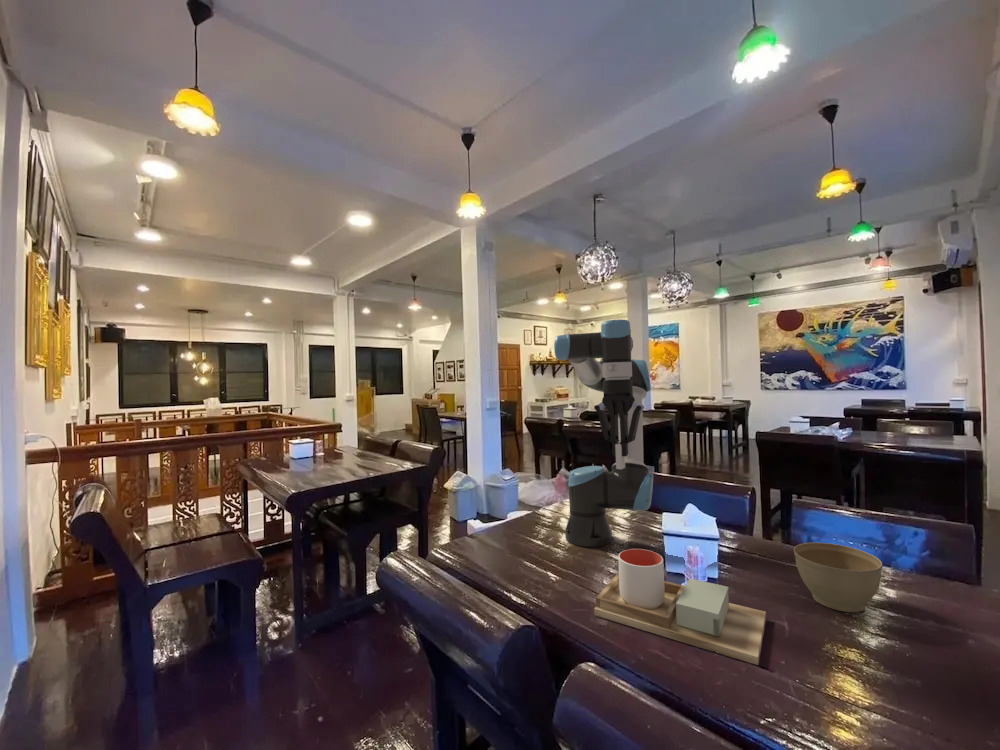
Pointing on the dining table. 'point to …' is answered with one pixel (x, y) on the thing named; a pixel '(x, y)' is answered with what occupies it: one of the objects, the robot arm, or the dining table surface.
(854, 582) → the planter bowl
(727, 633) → the board
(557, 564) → the dining table surface
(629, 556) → the cup
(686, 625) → the cover
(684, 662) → the dining table surface
